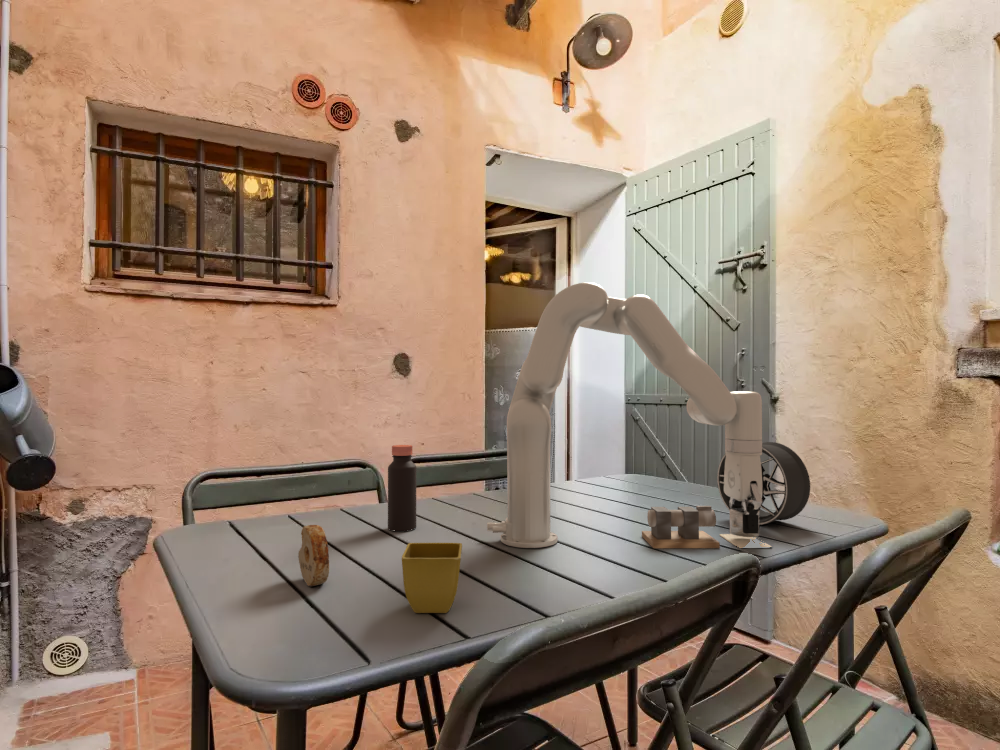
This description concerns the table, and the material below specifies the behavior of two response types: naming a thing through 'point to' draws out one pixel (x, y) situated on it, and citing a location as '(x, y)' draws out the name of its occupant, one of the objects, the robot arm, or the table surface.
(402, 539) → the table surface
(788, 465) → the wheel rim
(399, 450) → the bottle
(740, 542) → the mat
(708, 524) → the shaft stand
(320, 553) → the stone disc
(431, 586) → the flower pot
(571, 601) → the table surface
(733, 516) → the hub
